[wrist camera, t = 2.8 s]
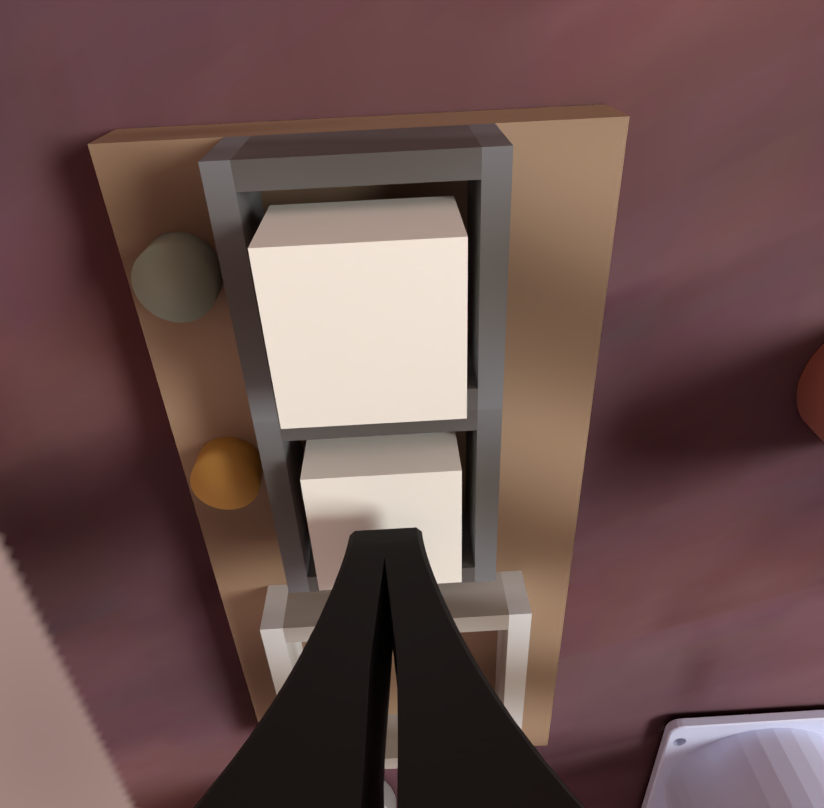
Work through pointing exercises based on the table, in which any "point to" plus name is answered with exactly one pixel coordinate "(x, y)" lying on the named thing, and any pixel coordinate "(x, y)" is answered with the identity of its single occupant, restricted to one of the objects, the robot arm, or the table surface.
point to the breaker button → (364, 310)
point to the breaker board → (476, 436)
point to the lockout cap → (812, 393)
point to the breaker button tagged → (384, 496)
